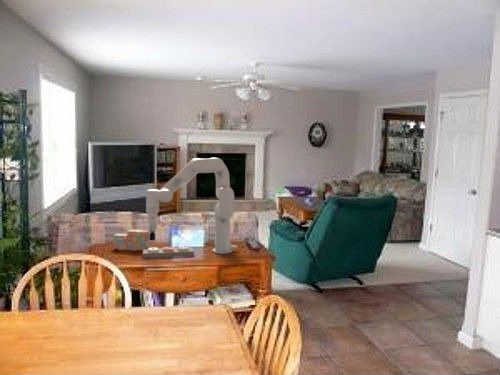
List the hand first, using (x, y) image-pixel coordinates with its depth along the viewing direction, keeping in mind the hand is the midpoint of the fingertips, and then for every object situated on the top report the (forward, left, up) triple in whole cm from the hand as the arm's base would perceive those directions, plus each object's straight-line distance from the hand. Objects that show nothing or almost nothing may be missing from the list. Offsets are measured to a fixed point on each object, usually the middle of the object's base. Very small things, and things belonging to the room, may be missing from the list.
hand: (152, 239), depth 267 cm
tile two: (-18, 0, -8) cm, 20 cm away
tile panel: (-9, 0, -10) cm, 14 cm away
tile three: (-9, 0, -8) cm, 12 cm away
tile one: (0, 0, -8) cm, 8 cm away
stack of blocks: (+13, -19, -10) cm, 25 cm away
